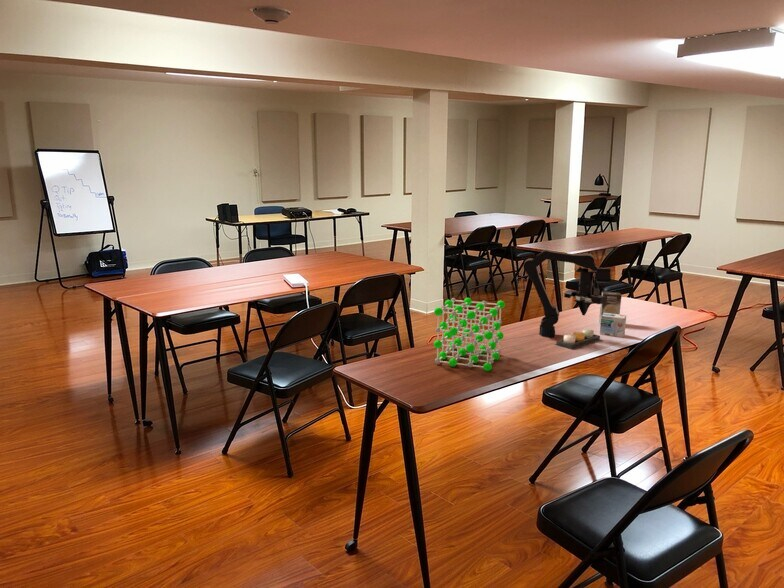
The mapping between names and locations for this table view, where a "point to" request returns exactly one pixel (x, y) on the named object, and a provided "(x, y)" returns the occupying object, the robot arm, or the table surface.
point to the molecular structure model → (469, 332)
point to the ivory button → (569, 339)
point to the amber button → (579, 336)
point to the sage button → (588, 333)
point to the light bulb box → (613, 324)
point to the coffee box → (610, 303)
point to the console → (578, 342)
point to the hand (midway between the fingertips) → (583, 315)
